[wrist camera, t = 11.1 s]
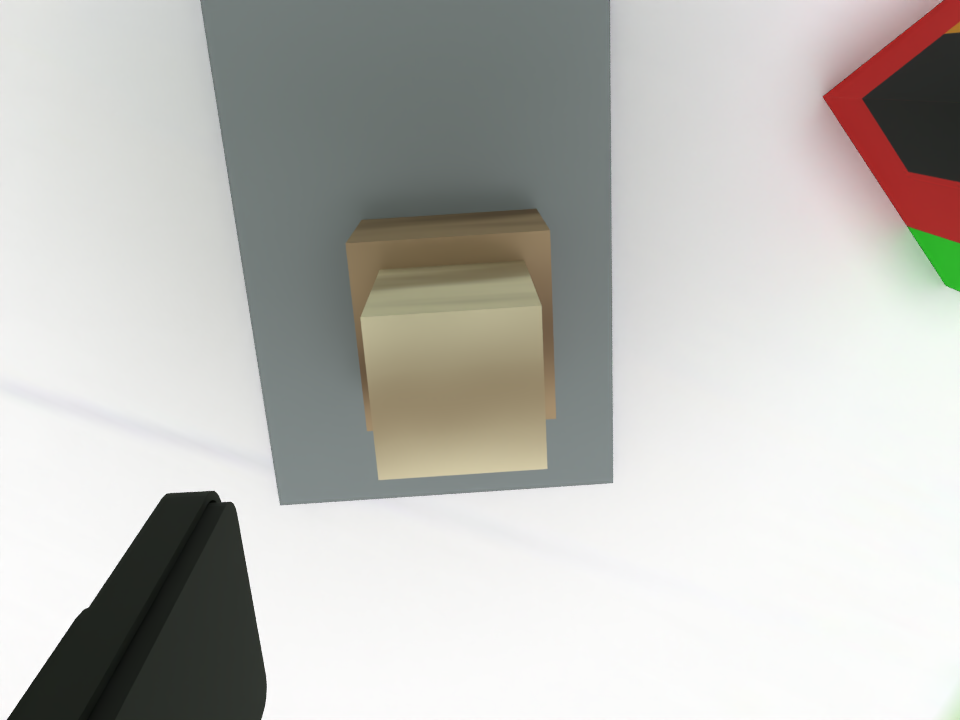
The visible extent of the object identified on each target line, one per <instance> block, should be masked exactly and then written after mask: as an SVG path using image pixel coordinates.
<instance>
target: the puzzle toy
mask: <svg viewBox="0 0 960 720" xmlns="http://www.w3.org/2000/svg"><path fill="white" fill-rule="evenodd" d="M823 98H824V100H825V101H826V103H827V104H828V106H829V107H830V109H831V110H832V112H833V113H834V115H835V116H836V118H837V120H838V121H839V123H840V124H841V126H842V127H843V129H844V130H845V132H846V133H847V135H848V136H849V138H850V139H851V141H852V143H853V144H854V146H855V147H856V149H857V150H858V152H859V153H860V155H861V156H862V158H863V159H864V161H865V162H866V164H867V166H868V167H869V169H870V170H871V172H872V173H873V175H874V176H875V178H876V179H877V181H878V182H879V184H880V185H881V187H882V189H883V190H884V192H885V193H886V195H887V196H888V198H889V199H890V201H891V202H892V204H893V205H894V207H895V209H896V210H897V212H898V213H899V215H900V216H901V218H902V219H903V221H904V222H905V224H906V225H907V227H908V228H909V230H910V232H911V233H912V235H913V236H914V238H915V239H916V241H917V242H918V244H919V245H920V247H921V248H922V250H923V251H924V253H925V255H926V256H927V258H928V259H929V261H930V262H931V264H932V265H933V267H934V268H935V270H936V271H937V273H938V274H939V276H940V278H941V279H942V281H943V282H944V284H945V285H946V286H948V287H950V288H952V289H955V290H957V291H960V0H944V1H942V2H941V3H940V4H939V5H937V6H936V7H935V8H934V9H932V10H931V11H930V12H929V13H927V14H926V15H925V16H924V17H922V18H921V19H920V20H919V21H917V22H916V23H915V24H913V25H912V26H911V27H910V28H908V29H907V30H906V31H905V32H903V33H902V34H901V35H900V36H898V37H897V38H896V39H895V40H893V41H892V42H891V43H890V44H888V45H887V46H886V47H884V48H883V49H882V50H881V51H879V52H878V53H877V54H876V55H874V56H873V57H872V58H871V59H869V60H868V61H867V62H866V63H864V64H863V65H862V66H861V67H859V68H858V69H857V70H856V71H854V72H853V73H852V74H850V75H849V76H848V77H847V78H845V79H844V80H843V81H842V82H840V83H839V84H838V85H837V86H835V87H834V88H833V89H832V90H830V91H829V92H828V93H827V94H825V95H824V96H823Z"/></svg>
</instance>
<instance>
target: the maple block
mask: <svg viewBox="0 0 960 720" xmlns="http://www.w3.org/2000/svg"><path fill="white" fill-rule="evenodd" d="M360 319H361V328H362V337H363V346H364V355H365V364H366V373H367V382H368V391H369V399H370V408H371V417H372V426H373V435H374V444H375V453H376V462H377V471H378V480H389V479H404V478H419V477H434V476H449V475H464V474H479V473H494V472H509V471H524V470H539V469H547V442H546V414H545V386H544V358H543V330H542V305H541V303H540V300H539V297H538V295H537V292H536V290H535V287H534V284H533V282H532V279H531V277H530V274H529V271H528V269H527V266H526V264H525V261H524V260H521V261H505V262H490V263H474V264H459V265H443V266H428V267H412V268H397V269H381V270H379V273H378V275H377V277H376V280H375V282H374V285H373V287H372V290H371V292H370V295H369V297H368V300H367V302H366V305H365V307H364V310H363V312H362V314H361V317H360Z"/></svg>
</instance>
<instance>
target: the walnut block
mask: <svg viewBox="0 0 960 720" xmlns="http://www.w3.org/2000/svg"><path fill="white" fill-rule="evenodd" d="M345 244H346V253H347V261H348V270H349V279H350V287H351V296H352V305H353V314H354V322H355V331H356V340H357V348H358V357H359V366H360V374H361V383H362V392H363V401H364V409H365V418H366V427H367V431H373V426H372V417H371V408H370V399H369V391H368V382H367V373H366V364H365V355H364V346H363V337H362V328H361V319H360V317H361V314H362V312H363V310H364V307H365V305H366V302H367V300H368V297H369V295H370V292H371V290H372V287H373V285H374V282H375V280H376V277H377V275H378V273H379V270H381V269H397V268H412V267H428V266H443V265H459V264H474V263H490V262H505V261H521V260H524V261H525V264H526V266H527V269H528V271H529V274H530V277H531V279H532V282H533V284H534V287H535V290H536V292H537V295H538V297H539V300H540V303H541V305H542V330H543V358H544V386H545V414H546V419H556V400H555V368H554V337H553V305H552V273H551V242H550V229H549V228H548V226H547V225H546V223H545V221H544V220H543V218H542V217H541V215H540V214H539V212H538V210H537V209H523V210H507V211H492V212H476V213H461V214H445V215H430V216H414V217H399V218H383V219H368V220H361V221H360V223H359V224H358V226H357V227H356V229H355V230H354V232H353V233H352V235H351V236H350V238H349V239H348V241H347V242H346V243H345Z"/></svg>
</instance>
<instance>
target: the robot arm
mask: <svg viewBox="0 0 960 720" xmlns="http://www.w3.org/2000/svg"><path fill="white" fill-rule="evenodd" d="M266 691H267V683H266V673H265V668H264V662H263V657H262V651H261V645H260V640H259V634H258V629H257V623H256V617H255V612H254V606H253V601H252V595H251V589H250V584H249V578H248V572H247V567H246V561H245V556H244V550H243V544H242V539H241V533H240V528H239V522H238V516H237V512H236V508H235V506H234V504H233V503H232V502H221V500H220V498H219V496H218V494H217V493H216V492H215V491H203V492H184V493H169V494H166V495H165V496H164V497H163V498H162V499H161V501H160V502H159V504H158V505H157V506H156V508H155V509H154V511H153V512H152V514H151V515H150V517H149V518H148V520H147V521H146V523H145V524H144V526H143V527H142V529H141V530H140V532H139V533H138V535H137V536H136V538H135V539H134V541H133V542H132V544H131V545H130V547H129V548H128V550H127V551H126V553H125V554H124V556H123V557H122V559H121V560H120V562H119V563H118V565H117V566H116V568H115V569H114V571H113V572H112V574H111V575H110V577H109V578H108V580H107V581H106V583H105V584H104V585H103V587H102V588H101V590H100V591H99V593H98V594H97V596H96V597H95V599H94V600H93V602H92V603H91V605H90V606H89V608H86V609H84V610H83V611H82V612H81V613H80V615H79V616H78V617H77V618H76V619H75V620H74V622H73V623H72V625H71V626H70V628H69V629H68V631H67V632H66V634H65V635H64V637H63V638H62V640H61V641H60V643H59V644H58V645H57V647H56V648H55V650H54V651H53V653H52V654H51V656H50V657H49V659H48V660H47V662H46V663H45V665H44V666H43V667H42V669H41V670H40V672H39V673H38V675H37V676H36V678H35V679H34V681H33V682H32V684H31V685H30V687H29V688H28V690H27V691H26V692H25V694H24V695H23V697H22V698H21V700H20V701H19V703H18V704H17V706H16V707H15V709H14V710H13V712H12V713H11V715H10V716H9V717H8V719H7V720H261V718H262V715H263V711H264V707H265V702H266Z"/></svg>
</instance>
